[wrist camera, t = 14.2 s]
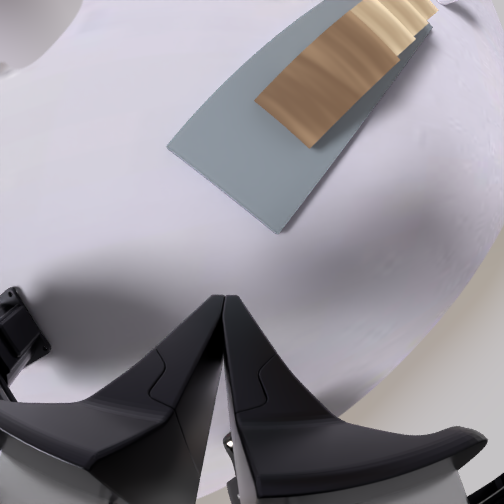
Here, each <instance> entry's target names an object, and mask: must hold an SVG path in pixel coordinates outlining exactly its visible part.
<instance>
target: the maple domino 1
mask: <svg viewBox="0 0 504 504" xmlns="http://www.w3.org/2000/svg"><path fill="white" fill-rule="evenodd" d="M350 11H351V12H353V13H354V14H355V15H356V16H357V17H358V18H359V19H360V20H362V21H363V22H364V23H365V24H366V25H367V26H368V27H369V28H370V29H371V30H372V31H373V32H374V33H375V34H376V35H377V36H378V37H379V38H380V39H381V40H382V41H383V42H384V43H385V44H386V45H387V46H388V47H389V48H390V49H391V50H392V51H393V52H394V53H395V54H396V56H398V55H399V54H400V53H401V52H402V51H403V50H405V49H406V48H407V47H408V46H409V45H410V44H411V43H412V42H413V41H414V40H415V39H416V38H415V37H414V36H413V35H412V34H411V33H410V32H409V31H408V30H407V28H406V27H405V26H404V25H403V24H402V23H401V22H400V21H399V20H398V19H397V18H396V17H395V16H394V15H393V14H392V13H391V12H390V11H389V10H388V9H387V8H386V7H385V6H384V5H383V4H381V3H380V2H379V1H378V0H362V1H361V2H360V3H359V4H357V5H356V6H355V7H354V8H352V9H351V10H350Z"/></svg>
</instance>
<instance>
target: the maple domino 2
mask: <svg viewBox="0 0 504 504" xmlns="http://www.w3.org/2000/svg"><path fill="white" fill-rule="evenodd" d="M378 1H379V2H380V3H381V4H383V5H384V6H385V7H386V8H387V9H388V10H389V11H390V12H391V13H392V14H393V15H394V16H395V17H396V18H397V19H398V20H399V21H400V22H401V23H402V24H403V25H404V26H405V27H406V28H407V30H408V31H409V32H410V33H411V34H412V35H413V36H415V35H416V34H417V33H418V32H419V31H420V30H421V29H423V28H424V27H425V26H426V25H427V24H428V22H427V21H426V20H425V18H424V17H423V16H422V15H421V14H420V13H419V12H418V11H417V10H416V9H415V8H414V7H413V6H412V5H411V4H410V3H409V2H408V1H407V0H378Z"/></svg>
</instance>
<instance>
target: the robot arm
mask: <svg viewBox="0 0 504 504" xmlns="http://www.w3.org/2000/svg"><path fill="white" fill-rule="evenodd" d="M10 292H11V293H12V295H11V293H10ZM44 346H45V347H46V348H47V349H46V348H45V347H44ZM50 350H51V346H50V345H49V343H48V342H47V340H46V339H45V337H44V336H43V335H42V333H41V332H40V330H39V329H38V327H37V326H36V324H35V322H34V321H33V319H32V318H31V316H30V315H29V313H28V311H27V310H26V308H25V306H24V305H23V303H22V301H21V299H20V298H19V296H18V294H17V292H16V290H15V289H14V288H12V287H10V288H9V289H7V290H6V291H5V292H4V293H2V294H1V295H0V504H195V502H196V497H197V492H198V487H199V482H200V476H201V471H202V466H203V461H204V456H205V450H206V445H207V440H208V435H209V430H210V425H211V420H212V415H213V410H214V405H215V400H216V395H217V390H218V385H219V380H220V375H221V370H222V364H223V357H224V370H225V380H226V390H227V400H228V409H229V418H230V427H231V436H232V444H233V452H234V460H235V467H236V475H237V481H238V489H239V496H240V502H241V504H504V473H503V474H501V475H500V476H499V477H497V478H496V479H495V480H493V481H492V482H490V483H489V484H487V485H485V486H484V487H482V488H481V489H479V490H478V491H476V492H474V493H473V494H471V495H469V496H468V497H467V495H466V493H465V490H464V487H463V484H462V482H461V479H460V476H459V474H458V470H459V469H460V468H461V467H463V466H464V465H465V464H466V463H467V462H469V461H470V460H471V459H472V458H473V457H475V456H476V455H477V454H478V453H479V452H480V451H481V450H482V449H483V448H484V447H485V446H486V444H487V441H488V439H487V438H486V437H485V436H484V435H483V434H481V433H480V432H478V431H476V430H473V429H469V428H464V427H460V426H455V427H450V428H447V429H444V430H442V431H439V432H436V433H432V434H428V435H416V436H415V435H403V434H397V433H392V432H386V431H382V430H377V429H372V428H367V427H363V426H359V425H354V424H350V423H347V422H345V421H343V420H341V419H339V418H337V417H336V416H335V415H333V414H332V413H331V412H330V411H329V410H328V409H327V408H326V407H325V406H324V405H323V404H322V403H321V402H320V401H319V400H318V399H317V398H316V397H315V396H314V395H313V394H312V393H311V392H310V391H309V390H308V389H307V388H306V387H305V386H304V385H303V384H302V383H301V382H300V381H299V380H298V379H297V378H296V377H295V376H294V374H293V373H292V372H291V371H290V370H289V368H288V367H287V366H286V364H285V363H284V362H283V360H282V359H281V357H280V356H279V355H278V354H277V352H276V350H275V349H274V348H273V346H272V345H271V343H270V342H269V340H268V339H267V337H266V336H265V335H264V333H263V332H262V330H261V329H260V327H259V326H258V324H257V323H256V321H255V320H254V318H253V317H252V315H251V314H250V312H249V311H248V309H247V308H246V307H245V305H244V304H243V302H242V301H241V299H240V298H239V296H237V295H226V296H224V295H211V296H210V297H209V298H208V299H207V300H206V301H205V302H204V303H203V304H202V305H201V306H200V307H198V308H197V309H196V310H195V311H194V312H193V313H192V314H191V315H190V316H189V317H188V318H186V319H185V320H184V321H183V322H182V323H181V324H180V325H179V326H178V327H177V328H176V329H175V330H173V331H172V332H171V333H170V334H169V335H168V336H167V337H166V338H165V339H164V340H163V341H161V342H160V343H159V344H158V345H157V346H156V347H155V348H154V349H153V350H152V351H150V352H149V353H148V354H147V355H146V356H145V357H144V358H142V359H141V360H140V361H139V362H138V363H137V364H135V365H134V366H133V367H131V368H130V369H129V370H127V371H126V372H125V373H124V374H122V375H121V376H119V377H118V378H116V379H115V380H114V381H112V382H111V383H109V384H108V385H107V386H105V387H104V388H102V389H101V390H99V391H98V392H97V393H95V394H94V395H92V396H90V397H89V398H87V399H85V400H82V401H79V402H74V403H21V402H17V400H16V399H15V397H14V395H13V394H12V392H11V391H10V389H9V387H10V385H11V384H12V382H13V381H14V380H15V378H16V377H17V376H18V374H19V373H20V372H21V370H22V369H23V368H24V367H25V366H27V365H29V364H30V363H32V362H34V361H36V360H37V359H39V358H41V357H43V356H44V355H46V354H48V353H49V352H50Z"/></svg>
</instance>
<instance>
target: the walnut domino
mask: <svg viewBox="0 0 504 504" xmlns="http://www.w3.org/2000/svg"><path fill="white" fill-rule="evenodd" d="M399 61H400V59H399V58H398V57H397V56H396V54H395V53H394V52H393V51H392V50H391V49H390V48H389V47H388V46H387V45H386V44H385V43H384V42H383V41H382V40H381V39H380V38H379V37H378V36H377V35H376V34H375V33H374V32H373V31H372V30H371V29H370V28H369V27H368V26H367V25H366V24H365V23H364V22H363V21H362V20H360V19H359V18H358V17H357V16H356V15H355V14H354V13H353V12H351V11H350V10H349V11H348V12H347V13H345V14H344V15H343V16H342V17H341V18H339V19H338V20H337V21H336V22H335V23H333V24H332V25H331V26H330V27H329V28H328V29H327V30H325V31H324V32H323V33H322V34H321V35H320V36H319V37H317V38H316V39H315V40H314V41H313V42H312V43H311V44H310V45H309V46H308V47H307V48H305V49H304V50H303V51H302V52H301V53H300V54H299V55H298V56H297V57H296V58H295V59H294V60H293V61H292V62H291V63H290V64H289V65H288V66H287V67H286V68H285V69H284V70H283V71H282V72H281V73H280V74H279V75H278V76H277V77H276V78H275V79H274V80H273V81H272V82H271V83H270V84H269V85H268V86H267V87H266V88H265V89H264V90H263V91H262V92H261V93H260V94H259V95H258V97H257V98H256V99H255V100H254V101H255V102H256V103H257V104H258V105H260V106H261V107H262V108H263V109H265V110H266V111H267V112H268V113H269V114H271V115H272V116H273V117H274V118H275V119H276V120H278V121H279V122H280V123H281V124H282V125H283V126H285V127H286V128H287V129H288V130H289V131H290V132H291V133H293V134H294V135H295V136H296V137H297V138H298V139H299V140H300V141H301V142H302V143H304V144H305V145H306V146H307V147H308V148H309V149H310V148H311V147H312V146H313V145H314V144H315V143H316V142H317V141H318V140H319V139H320V138H321V137H322V136H323V135H324V134H325V133H326V132H327V131H328V130H329V129H330V128H331V127H332V126H333V125H334V124H335V123H336V122H337V121H338V120H339V119H340V118H341V117H342V116H343V115H344V114H345V113H346V112H347V111H348V110H349V109H350V108H351V107H352V106H353V105H354V104H355V103H356V102H357V101H358V100H359V99H360V98H361V97H362V96H363V95H364V94H365V93H366V92H367V91H368V90H369V89H370V88H371V87H372V86H373V85H375V84H376V83H377V82H378V81H379V80H380V79H381V78H382V77H383V76H384V75H385V74H386V73H387V72H388V71H389V70H390V69H391V68H392V67H393V66H394V65H396V64H397V63H398V62H399Z"/></svg>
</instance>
